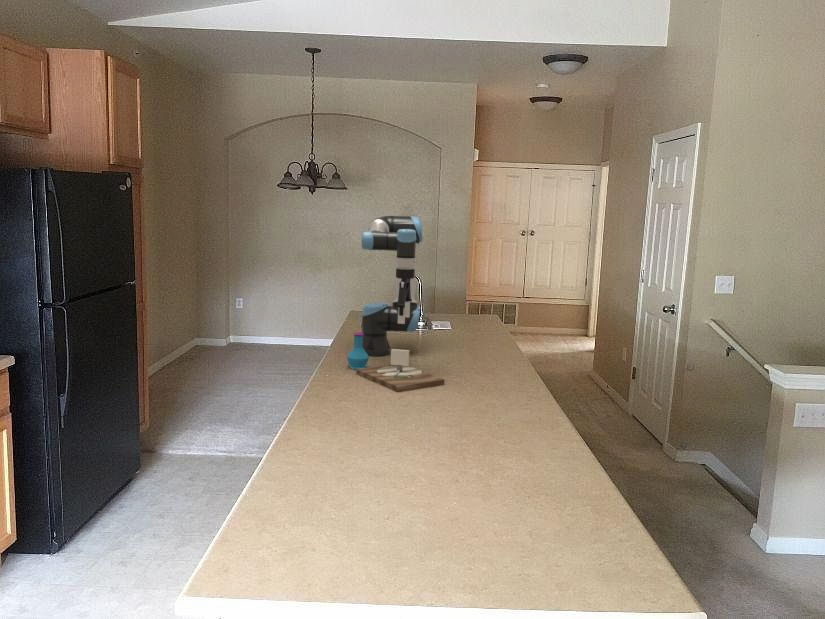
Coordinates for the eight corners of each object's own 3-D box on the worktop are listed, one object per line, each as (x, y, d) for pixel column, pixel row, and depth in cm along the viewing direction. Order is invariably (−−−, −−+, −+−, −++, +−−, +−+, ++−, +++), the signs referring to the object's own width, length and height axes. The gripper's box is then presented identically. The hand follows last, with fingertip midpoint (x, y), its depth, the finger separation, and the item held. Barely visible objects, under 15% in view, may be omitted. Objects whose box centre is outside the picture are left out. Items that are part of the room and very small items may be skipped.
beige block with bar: (385, 376, 257) (386, 354, 256) (391, 370, 267) (392, 348, 266) (403, 377, 256) (404, 355, 254) (408, 371, 266) (409, 350, 265)
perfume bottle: (370, 365, 283) (371, 331, 281) (366, 370, 274) (367, 335, 272) (349, 364, 284) (349, 330, 281) (344, 369, 275) (345, 334, 272)
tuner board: (356, 373, 268) (356, 368, 268) (401, 367, 281) (401, 362, 280) (397, 392, 244) (397, 385, 244) (444, 384, 257) (444, 378, 256)
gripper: (410, 272, 251) (408, 326, 255) (418, 265, 275) (416, 315, 279) (390, 271, 252) (389, 325, 256) (400, 264, 276) (399, 314, 280)
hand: (403, 320), depth 268 cm, fingers open, 13 cm apart
